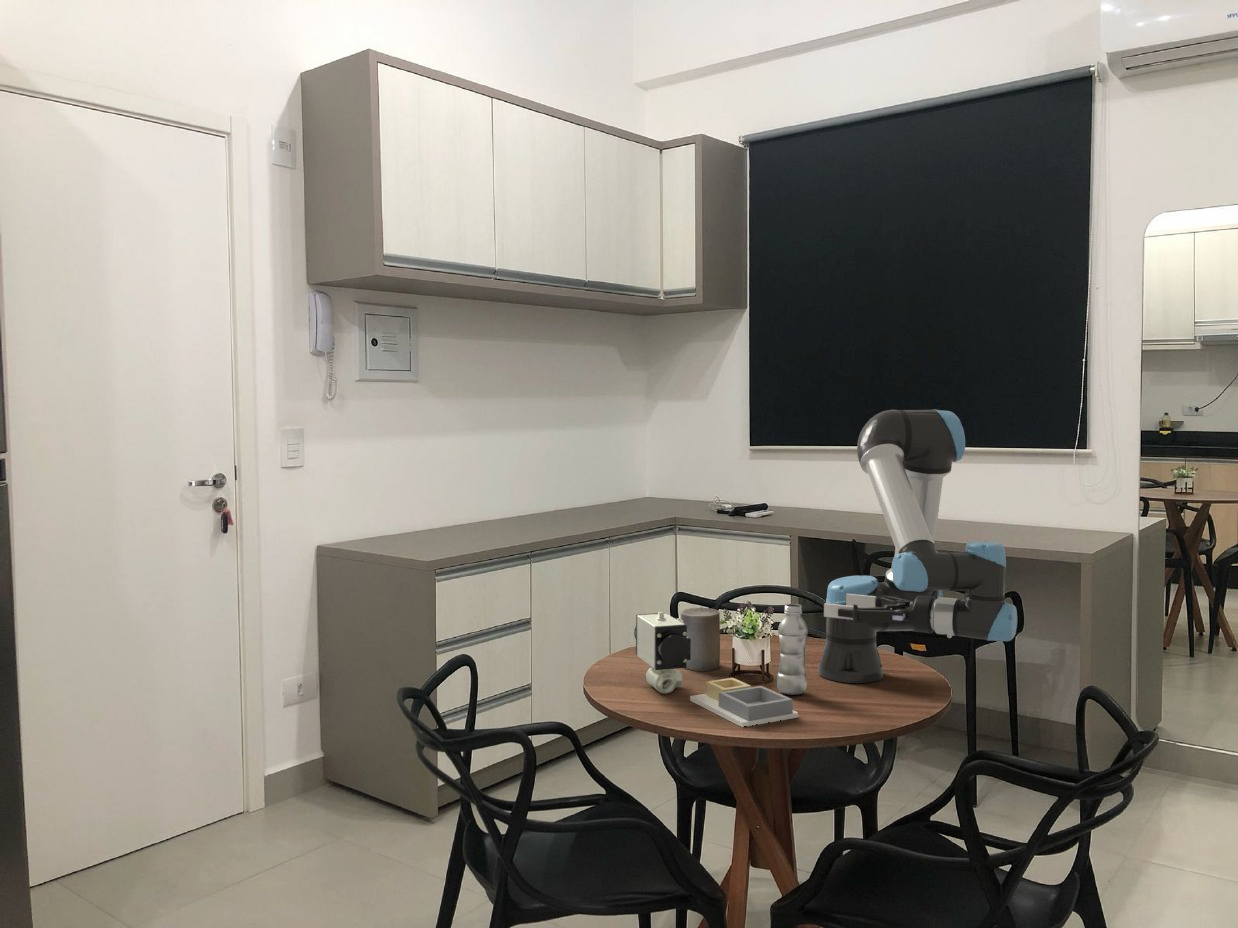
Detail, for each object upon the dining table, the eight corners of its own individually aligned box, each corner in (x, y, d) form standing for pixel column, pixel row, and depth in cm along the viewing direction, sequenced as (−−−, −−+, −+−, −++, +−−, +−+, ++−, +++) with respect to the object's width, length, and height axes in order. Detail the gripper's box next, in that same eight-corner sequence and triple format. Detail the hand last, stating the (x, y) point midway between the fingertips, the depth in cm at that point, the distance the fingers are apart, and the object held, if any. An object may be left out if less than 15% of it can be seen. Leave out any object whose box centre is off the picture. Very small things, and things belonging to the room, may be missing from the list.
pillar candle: (720, 661, 248) (719, 602, 247) (720, 671, 238) (719, 610, 238) (681, 660, 249) (681, 602, 248) (679, 671, 239) (679, 610, 239)
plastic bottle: (774, 689, 224) (775, 602, 223) (804, 689, 224) (805, 602, 223) (778, 697, 218) (779, 608, 217) (809, 698, 218) (810, 608, 216)
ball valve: (695, 698, 217) (696, 619, 216) (659, 702, 214) (659, 621, 213) (666, 677, 234) (667, 603, 233) (632, 680, 231) (633, 605, 230)
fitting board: (743, 691, 222) (743, 674, 222) (798, 717, 204) (798, 698, 204) (690, 700, 216) (690, 682, 215) (742, 727, 198) (742, 707, 198)
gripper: (917, 645, 192) (814, 632, 203) (950, 622, 213) (855, 612, 224) (918, 606, 192) (814, 596, 203) (951, 588, 213) (855, 579, 224)
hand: (835, 604), depth 214 cm, fingers open, 13 cm apart
